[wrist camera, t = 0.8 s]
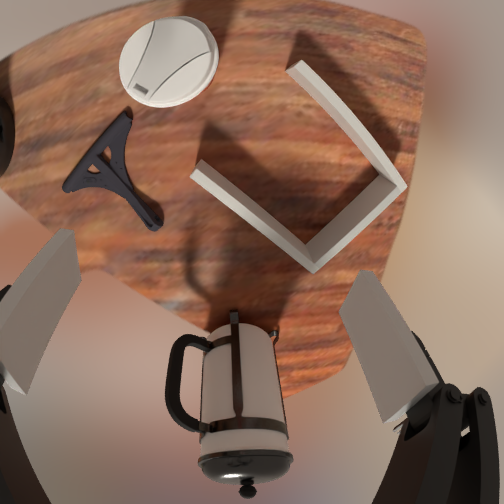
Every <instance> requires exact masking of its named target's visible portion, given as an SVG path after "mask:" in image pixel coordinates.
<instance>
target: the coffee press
mask: <svg viewBox="0 0 504 504" xmlns="http://www.w3.org/2000/svg"><path fill="white" fill-rule="evenodd" d="M230 323H231V324H228V325H224V326H222V327H219V328H218V329H216V330H215V331H213V332H212V333H211V334H210V335H209V337H208V338H207V339H206V338H205V337H198V336H196V335H192V334H185V335H183V336H181V337H179V338H178V339H177V340H176V341H175V343H174V344H173V346H172V349H171V353H170V358H169V364H168V370H167V377H166V386H165V401H166V406H167V409H168V411H169V414H170V415H171V417H172V418H173V420H174V421H175V422H176V423H177V424H178V425H180V426H181V427H183V428H184V429H186V430H188V431H191V432H198V433H200V436H199V442H200V444H201V456H200V457H199V459H198V466H199V467H200V468H202V471H203V473H204V474H205V475H206V476H207V477H208V478H209V479H211V480H213V481H216V482H219V483H224V484H233V485H234V484H235V485H244V486H242V487H241V488H240V491H239V493H240V495H241V496H242V497H243V498H247V499H250V498H252V497H254V496H255V495H256V492H257V491H256V489H255V487H253V486H252V485H253V484H258V483H265V482H270V481H273V480H276V479H278V478H280V477H282V476H283V475H285V474H286V473H287V472H288V470H289V468H290V464H291V463H292V462H293V455H292V454H291V453H290V452H289V448H288V442H287V441H288V439H289V437H288V431H287V424H286V417H285V411H284V405H283V398H282V392H281V385H280V379H279V373H278V367H277V361H276V354H275V348H274V345H275V344H276V342H277V341H278V339H279V333H278V331H272V332H270V333H269V334H267V333H266V332H265V331H264V330H262V329H261V328H259V327H257V326H254V325H250V324H245V323H239V317H238V309H237V310H230ZM272 336H276V338H275V339H274V341H273V346H272V341H271V339H270V338H271V337H272ZM186 346H193V347H196V348H198V349H201V350H203V366H202V385H201V411H200V421H198V420H197V419H195V418H193V417H191V416H190V415H188V414H187V413H186V412H185V410H184V409H183V407H182V405H181V402H180V383H181V373H182V364H183V356H184V350H185V347H186ZM273 349H274V352H273ZM274 357H275V358H274ZM275 363H276V364H275ZM276 370H277V371H276ZM277 376H278V377H277ZM278 382H279V383H278ZM279 389H280V390H279ZM280 395H281V396H280ZM282 408H283V409H282ZM283 414H284V415H283ZM284 421H285V422H284Z"/></svg>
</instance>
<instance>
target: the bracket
mask: <svg viewBox="0 0 504 504" xmlns="http://www.w3.org/2000/svg"><path fill="white" fill-rule="evenodd" d="M126 114H127V112H126V111H124V112H123V113H122V114H121V115H120V116H119V117H118V118H117V119H116V120H115V121H114V122H113V124H112V125H111V126H110V127H109V128H108V129H107V130H106V131H105V132H104V133H103V135H102V136H101V137H100V138H99V139H98V140H97V142H96V143H95V144H94V145H93V146H92V148H91V149H90V150H89V151H88V152H87V154H86V155H85V156H84V157H83V159H82V160H81V161H80V163H79V164H78V165H77V166H76V168H75V169H74V170H73V172H72V173H71V174H70V176H69V177H68V179H67V180H66V181H65V183H64V184H63V186H62V189H63V191H64V192H66V193H70V192H71V191H72V192H74V191H77V190H79V189H82V188H86V187H101V188H105V189H108V190H111V191H113V192H115V193H117V194H118V195H120V196H121V197H123V198H125V199H126V200H127V201H128V203H129V204H130V205H131V206H132V208H133V209H134V210H135V212H136V213H137V214H138V215H139V217H140V218H141V219H142V221H143V222H144V224H145V225H146V227H147V228H148V229H149V230H151V231H157V230H158V229H159V228H161V227H162V226H163V224H164V223H163V221H162V220H161V219H160V218H159V217H158V216H157V215H156V214H155V213H154V212H153V211H152V210H151V209H150V208H149V206H148V205H147V204H146V203H145V202H144V201H143V200H142V199H141V198H140V197H139V196H138V195H137V194H136V193H135V192H134V191H133V189H134V188H133V186H132V184H131V182H130V180H129V178H128V175H127V172H126V168H125V162H124V152H125V144H126V140H127V136H128V133H129V131H130V128H131V126H132V123H131V121H132V120H133V119H132V118H129V117H127V116H126ZM107 146H109V148H110V150H111V160H110V163H109V164H108V162H107V161H106V160H105V159H104V158H103V156H102V155H101V153H102V152H103V151H104V149H105V148H106V147H107ZM92 164H93V165H94V166H95V167H96V168H97V169H98V170H99V171H100V172H101V173H99V174H93V173H91V172H89V171H88V168H89V167H90V166H91V165H92ZM155 219H156V220H157V221H156V220H155Z"/></svg>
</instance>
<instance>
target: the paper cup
mask: <svg viewBox="0 0 504 504" xmlns="http://www.w3.org/2000/svg"><path fill="white" fill-rule="evenodd" d="M218 58H219V54H218V47H217V43H216V40H215V38H214V36H213V35H212V33H211V32H210V31H209V29H208V27H207V26H206V24H204V23H203V22H201V21H199V20H197V19H195V18H192V17H188V16H177V17H166V18H161V19H158V20H155V21H152V22H150V23H148V24H146V25H144V26H143V27H141V28H140V29H138V30H137V31H136V32H135V33H134V34H133V35H132V36H131V37H130V38H129V40H128V41H127V43H126V44H125V46H124V48H123V50H122V53H121V56H120V61H119V72H120V78H121V82H122V84H123V86H124V88H125V89H126V91H127V92H128V93H129V94H130V96H131V97H132V98H134V99H135V100H137V101H138V102H140V103H142V104H145V105H148V106H151V107H171V106H176V105H179V104H182V103H184V102H187V101H189V100H191V99H192V98H194V97H195V96H197V95H198V94H200V93H202V92H203V91H205V90H206V89H207V88H208V87H209V86H210V84H211V83H212V81H213V78H214V74H215V72H216V68H217V65H218Z"/></svg>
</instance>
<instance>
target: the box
mask: <svg viewBox="0 0 504 504" xmlns="http://www.w3.org/2000/svg"><path fill="white" fill-rule="evenodd" d="M285 72H286V73H287V74H289V75H290V76H291V77H292V78H293V79H294V80H295V81H296V82H297V83H298V84H299V85H300V86H301V87H302V88H304V89H305V90H306V91H307V92H308V93H309V94H310V95H311V96H312V97H313V98H314V99H315V100H316V101H317V102H318V103H319V104H320V105H321V106H322V108H323V109H324V110H325V111H326V112H327V113H328V114H329V115H330V116H331V117H332V118H333V119H334V120H335V121H336V123H337V124H338V125H339V126H340V127H341V128H342V129H343V130H344V132H345V133H346V134H347V135H348V136H349V137H350V138H351V140H352V141H353V142H354V143H355V144H356V146H357V147H358V148H359V149H360V150H361V152H362V153H363V154H364V155H365V157H366V158H367V159H368V160H369V162H370V163H371V164H372V166H373V167H374V168H375V169H376V171H377V172H378V173H379V175H378V176H377V177H376V178H375V179H374V180H373V181H372V182H371V183H370V184H369V185H368V186H367V187H366V188H365V189H364V190H363V191H362V192H361V193H360V194H359V195H358V196H357V197H356V198H355V199H354V200H353V201H351V202H350V203H349V204H348V205H347V206H346V207H345V208H344V209H343V210H342V211H341V212H340V213H339V214H338V215H337V216H336V217H335V218H334V219H332V220H331V221H330V222H329V223H328V224H327V225H326V226H325V227H324V228H323V229H322V230H321V231H320V232H319V233H317V234H316V235H315V236H314V237H313V238H312V239H311V240H310V241H309V242H308V243H307V244H306V245H305V244H304V243H303V242H302V241H301V240H299V239H298V238H297V237H296V236H295V235H294V234H292V233H291V232H290V231H289V230H288V229H287V228H285V227H284V226H283V225H282V224H281V223H280V222H278V221H277V220H276V219H275V218H274V217H272V216H271V215H270V214H269V213H268V212H266V211H265V210H264V209H263V208H262V207H260V206H259V205H258V204H257V203H256V202H254V201H253V200H252V199H251V198H250V197H248V196H247V195H246V194H245V193H243V192H242V191H241V190H240V189H239V188H237V187H236V186H235V185H234V184H232V183H231V182H230V181H229V180H227V179H226V178H225V177H224V176H222V175H221V174H220V173H219V172H217V171H216V170H215V169H214V168H212V167H211V166H210V165H209V164H207V163H206V162H205V161H203V160H202V159H201V160H200V161H199V162H198V163H197V164H196V166H195V167H194V169H193V171H192V173H191V175H190V178H192V179H193V180H194V181H196V182H197V183H198V184H199V185H201V186H202V187H203V188H205V189H206V190H207V191H209V192H210V193H211V194H212V195H214V196H215V197H216V198H218V199H219V200H220V201H221V202H223V203H224V204H225V205H227V206H228V207H229V208H230V209H232V210H233V211H234V212H236V213H237V214H238V215H239V216H241V217H242V218H243V219H245V220H246V221H247V222H248V223H250V224H251V225H252V226H253V227H255V228H256V229H257V230H258V231H260V232H261V233H262V234H264V235H265V236H266V237H267V238H269V239H270V240H271V241H272V242H274V243H275V244H276V245H277V246H279V247H280V248H281V249H282V250H284V251H285V252H286V253H287V254H289V255H290V256H291V257H292V258H294V259H295V260H296V261H297V262H298V263H300V264H301V265H302V266H303V267H305V268H306V269H307V270H308V271H310V272H311V273H312V274H314V273H315V272H316V271H318V270H319V269H320V268H321V267H322V266H323V265H324V264H326V263H327V262H328V261H329V260H330V259H331V258H332V257H333V256H335V255H336V254H337V253H338V252H339V251H340V250H341V249H342V248H344V247H345V246H346V245H347V244H348V243H349V242H350V241H351V240H352V239H353V238H355V237H356V236H357V235H358V234H359V233H360V232H361V231H362V230H363V229H364V228H365V227H366V226H367V225H369V224H370V223H371V222H372V221H373V220H374V219H375V218H376V217H377V216H378V215H379V214H380V213H381V212H382V211H383V210H384V209H385V208H386V207H387V206H388V205H389V204H390V203H392V202H393V201H394V200H395V199H396V198H397V197H398V196H399V195H400V194H401V193H402V192H403V191H404V190H405V189H406V188H407V185H406V183H405V182H404V180H403V179H402V177H401V176H400V174H399V173H398V171H397V170H396V168H395V167H394V166H393V164H392V163H391V161H390V160H389V158H388V157H387V156H386V154H385V153H384V152H383V150H382V149H381V147H380V146H379V145H378V143H377V142H376V141H375V140H374V138H373V137H372V136H371V134H370V133H369V132H368V131H367V129H366V128H365V127H364V126H363V124H362V123H361V122H360V121H359V120H358V118H357V117H356V116H355V115H354V114H353V112H352V111H351V110H350V109H349V108H348V107H347V106H346V104H345V103H344V102H343V101H342V100H341V99H340V98H339V97H338V96H337V94H336V93H335V92H334V91H333V90H332V89H331V88H330V87H329V86H328V85H327V84H326V83H325V82H324V81H323V80H322V79H321V78H320V77H319V76H318V75H317V74H316V73H315V72H314V71H313V70H312V69H311V68H310V67H309V66H308V65H307V64H306V63H305V62H304V61H303V60H300V61H298V62H296V63H294V64H293V65H291V66H290V67H289V68H288V69H287V70H286V71H285Z"/></svg>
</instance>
